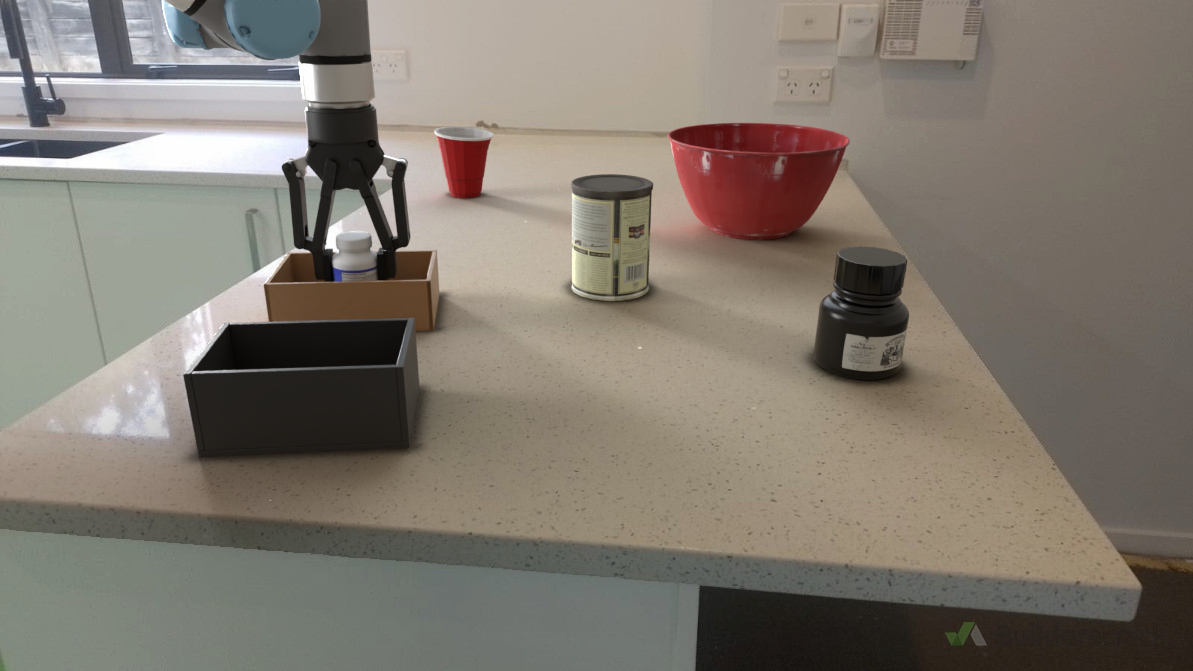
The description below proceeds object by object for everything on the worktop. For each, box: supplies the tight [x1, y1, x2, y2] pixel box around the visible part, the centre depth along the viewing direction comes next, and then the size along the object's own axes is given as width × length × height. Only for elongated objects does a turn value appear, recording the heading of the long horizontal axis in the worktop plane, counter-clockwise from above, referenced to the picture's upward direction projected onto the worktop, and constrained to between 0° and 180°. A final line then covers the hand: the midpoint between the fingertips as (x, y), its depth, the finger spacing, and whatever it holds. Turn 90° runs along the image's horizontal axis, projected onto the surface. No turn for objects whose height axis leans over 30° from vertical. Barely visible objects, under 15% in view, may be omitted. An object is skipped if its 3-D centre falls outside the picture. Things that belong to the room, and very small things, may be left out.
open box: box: [182, 318, 421, 458], centre depth 74 cm, size 17×11×8 cm, turn 97°
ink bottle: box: [813, 245, 910, 381], centre depth 87 cm, size 10×9×12 cm
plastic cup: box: [433, 126, 495, 199], centre depth 156 cm, size 11×11×12 cm
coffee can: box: [570, 173, 654, 302], centre depth 108 cm, size 10×10×14 cm
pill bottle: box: [331, 230, 379, 282], centre depth 98 cm, size 5×5×10 cm
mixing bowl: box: [667, 122, 851, 241], centre depth 136 cm, size 28×28×16 cm
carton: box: [263, 249, 440, 332], centre depth 99 cm, size 18×12×6 cm, turn 97°
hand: (359, 303), depth 100 cm, fingers closed on pill bottle, 5 cm apart
